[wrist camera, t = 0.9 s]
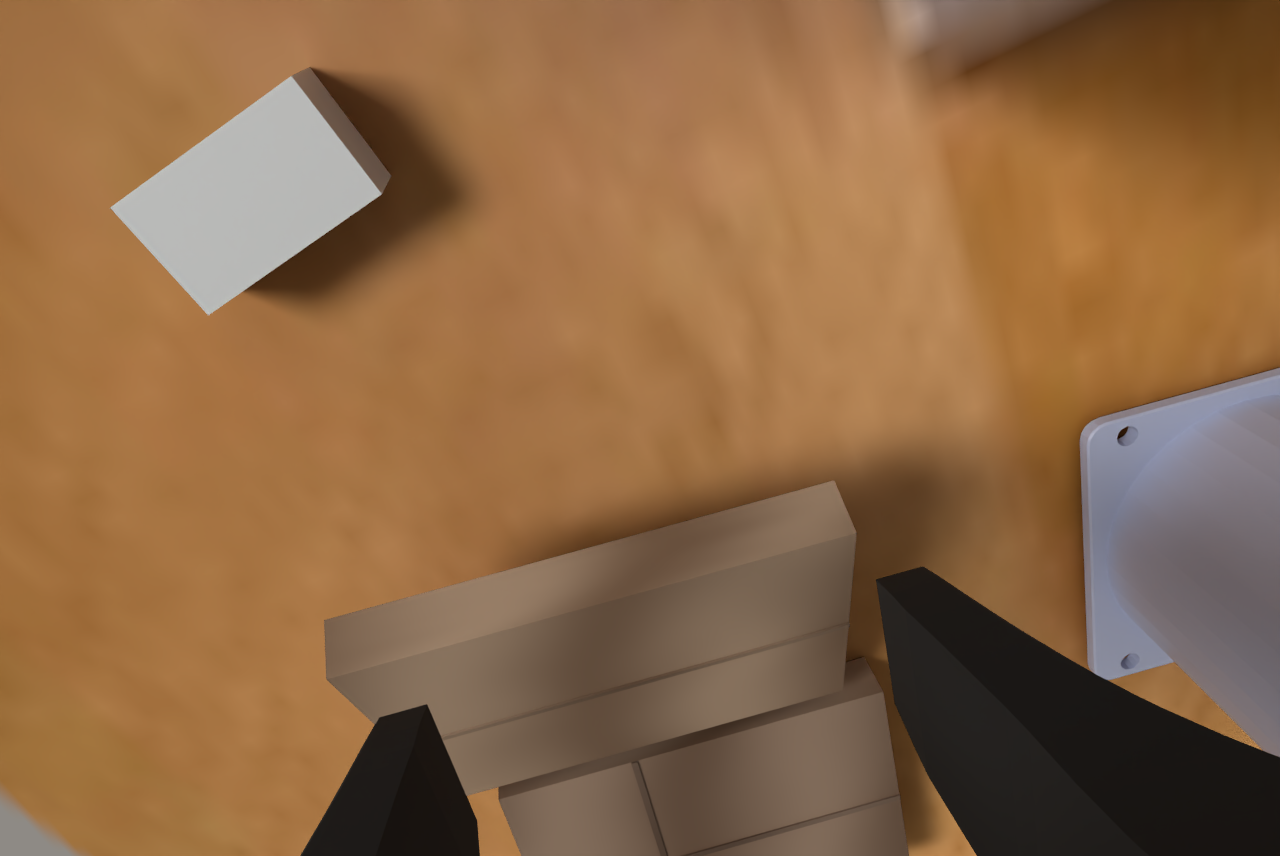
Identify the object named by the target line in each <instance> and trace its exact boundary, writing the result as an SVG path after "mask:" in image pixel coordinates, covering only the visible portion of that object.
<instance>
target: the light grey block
mask: <svg viewBox="0 0 1280 856" xmlns="http://www.w3.org/2000/svg"><path fill="white" fill-rule="evenodd" d="M390 178H391V175H390V173H389V172H388V171H387V169H386V168H385V167H384V165H383V164H382V163H381V161H380V160H379V159H378V157H377V156H376V155H375V153H374V152H373V151H372V149H371V148H370V147H369V145H368V144H367V143H366V141H365V140H364V139H363V137H362V136H361V135H360V133H359V132H358V131H357V129H356V128H355V127H354V125H353V124H352V123H351V121H350V120H349V119H348V117H347V116H346V115H345V113H344V112H343V111H342V109H341V108H340V107H339V105H338V104H337V103H336V101H335V100H334V99H333V98H332V96H331V95H330V94H329V92H328V91H327V90H326V88H325V87H324V86H323V84H322V83H321V82H320V80H319V79H318V78H317V76H316V75H315V74H314V72H313V71H312V70H311V68H310V67H309V68H307V69H304V70H302V71H300V72H298V73H296V74H294V75H292V76H291V77H289V78H288V79H286V80H285V81H284V82H282V83H281V84H280V85H278V86H277V87H275V88H274V89H273V90H271V91H270V92H269V93H267V94H266V95H264V96H263V97H262V98H260V99H259V100H258V101H256V102H255V103H253V104H252V105H251V106H249V107H248V108H247V109H245V110H244V111H242V112H241V113H240V114H238V115H237V116H236V117H234V118H233V119H231V120H230V121H229V122H227V123H226V124H225V125H223V126H222V127H220V128H219V129H218V130H216V131H215V132H214V133H212V134H211V135H209V136H208V137H207V138H205V139H204V140H203V141H201V142H200V143H198V144H197V145H196V146H194V147H193V148H192V149H190V150H189V151H187V152H186V153H185V154H183V155H182V156H181V157H179V158H178V159H176V160H175V161H174V162H172V163H171V164H170V165H168V166H167V167H165V168H164V169H163V170H161V171H160V172H159V173H157V174H156V175H154V176H153V177H152V178H150V179H149V180H148V181H146V182H145V183H143V184H142V185H141V186H139V187H138V188H136V189H135V190H134V191H132V192H131V193H130V194H128V195H127V196H125V197H124V198H123V199H121V200H120V201H119V202H117V203H116V204H114V205H113V206H112V207H110V208H111V209H112V210H113V211H114V213H115V214H116V215H117V216H118V217H119V218H120V219H121V220H122V221H123V222H124V224H125V225H126V226H127V227H128V228H129V229H130V230H131V231H132V232H133V233H134V234H135V236H136V237H137V238H138V239H139V240H140V241H141V242H142V243H143V244H144V245H145V246H146V248H147V249H148V250H149V251H150V252H151V253H152V254H153V255H154V256H155V257H156V259H157V260H158V261H159V262H160V263H161V264H162V265H163V266H164V267H165V268H166V269H167V271H168V272H169V273H170V274H171V275H172V276H173V277H174V278H175V279H176V280H177V282H178V283H179V284H180V285H181V286H182V287H183V288H184V289H185V290H186V291H187V292H188V294H189V295H190V296H191V297H192V298H193V299H194V300H195V301H196V302H197V303H198V305H199V306H200V307H201V308H202V309H203V310H204V311H205V312H206V313H207V314H208V315H210V314H211V313H212V312H214V311H215V310H217V309H218V308H220V307H221V306H222V305H224V304H225V303H227V302H228V301H230V300H231V299H232V298H234V297H235V296H237V295H238V294H240V293H241V292H242V291H244V290H245V289H247V288H248V287H250V286H251V285H253V284H254V283H255V282H257V281H258V280H260V279H261V278H263V277H264V276H265V275H267V274H268V273H270V272H271V271H273V270H274V269H275V268H277V267H278V266H280V265H281V264H283V263H284V262H285V261H287V260H288V259H290V258H291V257H293V256H294V255H295V254H297V253H298V252H300V251H301V250H303V249H304V248H306V247H307V246H308V245H310V244H311V243H313V242H314V241H316V240H317V239H318V238H320V237H321V236H323V235H324V234H326V233H327V232H328V231H330V230H331V229H333V228H334V227H336V226H337V225H338V224H340V223H341V222H343V221H344V220H346V219H347V218H349V217H350V216H351V215H353V214H354V213H356V212H357V211H359V210H360V209H361V208H363V207H364V206H366V205H367V204H369V203H370V202H371V201H373V200H374V199H376V198H377V197H379V196H380V195H381V194H382V193H383V191H384V189H385V187H386V185H387V183H388V182H389V180H390Z"/></svg>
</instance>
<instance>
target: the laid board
mask: <svg viewBox="0 0 1280 856" xmlns="http://www.w3.org/2000/svg"><path fill="white" fill-rule="evenodd" d="M900 800H901V798H900V794H899V789H898V782H897V776H896V770H895V763H894V757H893V750H892V744H891V738H890V731H889V725H888V718H887V712H886V706H885V699H884V693H883V690H882V688H881V687H880V685H879V683H878V681H877V679H876V678H875V676H874V674H873V672H872V670H871V668H870V667H869V665H868V663H867V661H866V659H865V658H864V657H863V658H859V659H856V660H852V661H849V662H845V673H844V685H843V691H839V692H836V693H832V694H829V695H825V696H821V697H818V698H814V699H811V700H807V701H804V702H800V703H796V704H793V705H789V706H786V707H782V708H779V709H775V710H771V711H768V712H764V713H761V714H757V715H754V716H750V717H746V718H743V719H739V720H736V721H732V722H729V723H725V724H721V725H718V726H714V727H711V728H707V729H704V730H700V731H696V732H693V733H689V734H686V735H682V736H679V737H675V738H671V739H668V740H664V741H661V742H657V743H654V744H650V745H646V746H643V747H639V748H636V749H632V750H629V751H625V752H621V753H618V754H614V755H611V756H607V757H604V758H600V759H596V760H593V761H589V762H586V763H582V764H579V765H575V766H572V767H568V768H564V769H561V770H557V771H554V772H550V773H547V774H543V775H539V776H536V777H532V778H529V779H525V780H522V781H518V782H514V783H511V784H507V785H504V786H500V787H499V802H500V804H501V807H502V809H503V812H504V814H505V817H506V819H507V821H508V824H509V826H510V829H511V831H512V834H513V836H514V839H515V841H516V844H517V846H518V848H519V851H520V853H521V856H909V853H908V846H907V840H906V833H905V827H904V821H903V814H902V808H901V801H900Z"/></svg>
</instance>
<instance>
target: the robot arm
mask: <svg viewBox="0 0 1280 856" xmlns="http://www.w3.org/2000/svg"><path fill="white" fill-rule="evenodd" d="M1127 426H1129V427H1128V430H1127V432H1126V434H1125V435H1124V436H1123V437H1121V438H1119V439H1117V437H1118V434H1119V432H1120V431H1121V430H1122V429H1123V428H1125V427H1127ZM1080 460H1081V488H1082V516H1083V544H1084V572H1085V599H1086V627H1087V655H1088V666H1089V668H1090V670H1091V671H1092V672H1091V671H1089V670H1087V669H1086V668H1084V667H1082V666H1080V665H1079V664H1077V663H1075V662H1073V661H1071V660H1070V659H1068V658H1066V657H1065V656H1063V655H1061V654H1060V653H1058V652H1056V651H1055V650H1053V649H1051V648H1050V647H1048V646H1046V645H1045V644H1043V643H1041V642H1040V641H1038V640H1036V639H1035V638H1033V637H1031V636H1030V635H1028V634H1026V633H1025V632H1023V631H1021V630H1020V629H1018V628H1017V627H1015V626H1013V625H1012V624H1010V623H1009V622H1007V621H1006V620H1004V619H1002V618H1001V617H999V616H998V615H996V614H995V613H993V612H992V611H990V610H989V609H987V608H986V607H984V606H982V605H981V604H979V603H978V602H976V601H975V600H973V599H972V598H970V597H969V596H967V595H966V594H964V593H963V592H961V591H960V590H958V589H957V588H955V587H954V586H952V585H951V584H949V583H948V582H946V581H945V580H943V579H942V578H940V577H939V576H937V575H936V574H934V573H933V572H931V571H930V570H928V569H926V568H925V567H920V568H916V569H912V570H909V571H905V572H901V573H898V574H894V575H891V576H887V577H883V578H880V579H876V582H877V589H878V596H879V602H880V609H881V616H882V622H883V629H884V635H885V642H886V649H887V655H888V662H889V669H890V675H891V682H892V688H893V695H894V702H895V705H896V707H897V710H898V712H899V714H900V716H901V718H902V721H903V723H904V725H905V727H906V729H907V732H908V734H909V736H910V738H911V740H912V743H913V745H914V747H915V749H916V751H917V753H918V755H919V757H920V760H921V762H922V764H923V766H924V768H925V770H926V772H927V774H928V776H929V778H930V779H931V781H932V783H933V785H934V786H935V788H936V790H937V791H938V793H939V795H940V796H941V798H942V799H943V801H944V803H945V804H946V806H947V808H948V809H949V811H950V813H951V814H952V816H953V817H954V819H955V821H956V822H957V824H958V826H959V827H960V829H961V831H962V832H963V834H964V835H965V837H966V839H967V840H968V842H969V844H970V845H971V847H972V848H973V850H974V852H975V853H976V855H977V856H1280V368H1277V369H1273V370H1270V371H1266V372H1263V373H1259V374H1255V375H1252V376H1248V377H1244V378H1241V379H1237V380H1233V381H1230V382H1226V383H1223V384H1219V385H1215V386H1212V387H1208V388H1204V389H1201V390H1197V391H1193V392H1190V393H1186V394H1183V395H1179V396H1175V397H1172V398H1168V399H1164V400H1161V401H1157V402H1153V403H1150V404H1146V405H1142V406H1139V407H1135V408H1132V409H1128V410H1124V411H1121V412H1117V413H1113V414H1110V415H1106V416H1102V417H1099V418H1097V419H1095V420H1092V421H1091V422H1090V423H1089V424H1088V425H1086V426H1085V428H1084V429H1083V431H1082V433H1081V437H1080ZM1127 655H1128V656H1127ZM1125 656H1127V657H1126V658H1125V659H1123V658H1124V657H1125ZM1122 659H1123V660H1122ZM1172 662H1175V663H1176V664H1177V665H1178V666H1179V667H1180V668H1181V669H1182V670H1183V671H1184V672H1185V673H1186V674H1187V675H1188V676H1189V677H1190V678H1191V679H1192V680H1193V681H1194V682H1195V683H1196V684H1197V685H1198V686H1199V687H1200V688H1201V689H1202V690H1203V691H1204V692H1205V693H1206V694H1207V695H1208V696H1209V697H1210V698H1211V699H1212V700H1213V701H1214V702H1215V703H1216V704H1217V705H1218V706H1219V707H1220V708H1221V709H1222V710H1223V711H1224V712H1225V713H1226V714H1227V715H1228V716H1229V717H1230V718H1231V719H1232V720H1233V721H1234V722H1235V723H1236V724H1237V725H1238V726H1239V727H1240V728H1241V729H1242V730H1243V731H1244V732H1245V733H1246V734H1247V735H1248V736H1249V737H1250V738H1251V739H1252V740H1253V741H1254V742H1255V743H1256V744H1257V745H1258V746H1259V747H1260V748H1261V749H1262V750H1263V751H1262V750H1259V749H1257V748H1254V747H1252V746H1249V745H1247V744H1244V743H1242V742H1239V741H1237V740H1234V739H1232V738H1229V737H1227V736H1224V735H1222V734H1220V733H1217V732H1215V731H1213V730H1211V729H1208V728H1206V727H1204V726H1202V725H1199V724H1197V723H1195V722H1193V721H1190V720H1188V719H1186V718H1184V717H1181V716H1179V715H1177V714H1174V713H1172V712H1170V711H1168V710H1165V709H1163V708H1161V707H1159V706H1157V705H1155V704H1153V703H1151V702H1149V701H1147V700H1145V699H1142V698H1140V697H1138V696H1136V695H1134V694H1132V693H1130V692H1129V691H1127V690H1125V689H1123V688H1121V687H1119V686H1117V685H1115V684H1113V683H1111V682H1110V681H1108V680H1111V679H1115V678H1119V677H1122V676H1126V675H1129V674H1133V673H1137V672H1140V671H1144V670H1147V669H1151V668H1154V667H1158V666H1161V665H1165V664H1168V663H1172ZM301 856H480V853H479V840H478V827H477V819H476V817H475V815H474V812H473V810H472V808H471V805H470V803H469V801H468V798H467V796H466V794H465V791H464V789H463V787H462V784H461V782H460V780H459V777H458V775H457V773H456V770H455V768H454V766H453V763H452V761H451V759H450V756H449V754H448V752H447V749H446V747H445V745H444V742H443V740H442V738H441V735H440V733H439V731H438V728H437V726H436V724H435V721H434V719H433V717H432V714H431V712H430V710H429V707H428V705H427V704H426V705H422V706H419V707H415V708H411V709H408V710H404V711H401V712H397V713H393V714H390V715H386V716H382V717H379V719H378V721H377V722H376V724H375V725H374V727H373V729H372V731H371V732H370V734H369V736H368V738H367V739H366V741H365V743H364V745H363V746H362V748H361V750H360V752H359V754H358V755H357V757H356V759H355V761H354V763H353V765H352V766H351V768H350V770H349V772H348V774H347V775H346V777H345V779H344V781H343V783H342V784H341V786H340V788H339V790H338V792H337V793H336V795H335V797H334V799H333V801H332V802H331V804H330V806H329V808H328V809H327V811H326V813H325V815H324V816H323V818H322V820H321V822H320V823H319V825H318V827H317V828H316V830H315V832H314V833H313V835H312V837H311V839H310V840H309V842H308V844H307V845H306V847H305V849H304V850H303V852H302V854H301Z"/></svg>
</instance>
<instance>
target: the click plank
mask: <svg viewBox="0 0 1280 856" xmlns="http://www.w3.org/2000/svg"><path fill="white" fill-rule="evenodd" d="M856 535H857V533H856V530H855V528H854V526H853V523H852V521H851V519H850V516H849V514H848V512H847V509H846V507H845V505H844V502H843V500H842V498H841V495H840V493H839V490H838V488H837V486H836V483H835V481H834V480H833V481H830V482H826V483H823V484H819V485H815V486H812V487H808V488H804V489H801V490H797V491H793V492H790V493H786V494H782V495H779V496H775V497H772V498H768V499H764V500H761V501H757V502H753V503H750V504H746V505H742V506H739V507H735V508H731V509H728V510H724V511H721V512H717V513H713V514H710V515H706V516H702V517H699V518H695V519H691V520H688V521H684V522H681V523H677V524H673V525H670V526H666V527H662V528H659V529H655V530H651V531H648V532H644V533H640V534H637V535H633V536H630V537H626V538H622V539H619V540H615V541H611V542H608V543H604V544H600V545H597V546H593V547H589V548H586V549H582V550H579V551H575V552H571V553H568V554H564V555H560V556H557V557H553V558H549V559H546V560H542V561H538V562H535V563H531V564H528V565H524V566H520V567H517V568H513V569H509V570H506V571H502V572H498V573H495V574H491V575H487V576H484V577H480V578H477V579H473V580H469V581H466V582H462V583H458V584H455V585H451V586H447V587H444V588H440V589H436V590H433V591H429V592H426V593H422V594H418V595H415V596H411V597H407V598H404V599H400V600H396V601H393V602H389V603H385V604H382V605H378V606H375V607H371V608H367V609H364V610H360V611H356V612H353V613H349V614H345V615H342V616H338V617H334V618H331V619H327V620H324V627H325V655H326V679H327V680H328V681H329V682H330V683H331V684H332V685H333V686H334V687H335V688H336V689H337V690H338V691H339V692H340V693H342V694H343V695H344V696H345V697H346V698H347V699H348V700H349V701H350V702H351V703H352V704H353V705H354V706H355V707H357V708H358V709H359V710H360V711H361V712H362V713H363V714H364V715H365V716H366V717H367V718H368V719H369V720H370V721H372V722H373V723H374V724H376V722H377V721H378V719H379V717H382V716H386V715H390V714H393V713H397V712H401V711H404V710H408V709H411V708H415V707H419V706H422V705H426V704H427V705H428V707H429V710H430V712H431V714H432V717H433V719H434V721H435V724H436V726H437V728H438V731H439V733H440V735H441V738H442V740H443V742H444V745H445V747H446V749H447V752H448V754H449V756H450V759H451V761H452V763H453V766H454V768H455V770H456V773H457V775H458V777H459V780H460V782H461V784H462V787H463V789H464V791H465V794H466V796H468V795H472V794H475V793H479V792H482V791H486V790H489V789H493V788H497V787H500V786H504V785H507V784H511V783H514V782H518V781H522V780H525V779H529V778H532V777H536V776H539V775H543V774H547V773H550V772H554V771H557V770H561V769H564V768H568V767H572V766H575V765H579V764H582V763H586V762H589V761H593V760H596V759H600V758H604V757H607V756H611V755H614V754H618V753H621V752H625V751H629V750H632V749H636V748H639V747H643V746H646V745H650V744H654V743H657V742H661V741H664V740H668V739H671V738H675V737H679V736H682V735H686V734H689V733H693V732H696V731H700V730H704V729H707V728H711V727H714V726H718V725H721V724H725V723H729V722H732V721H736V720H739V719H743V718H746V717H750V716H754V715H757V714H761V713H764V712H768V711H771V710H775V709H779V708H782V707H786V706H789V705H793V704H796V703H800V702H804V701H807V700H811V699H814V698H818V697H821V696H825V695H829V694H832V693H836V692H839V691H843V685H844V673H845V662H846V650H847V639H848V628H849V627H850V624H849V616H850V604H851V592H852V581H853V569H854V558H855V546H856Z"/></svg>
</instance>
